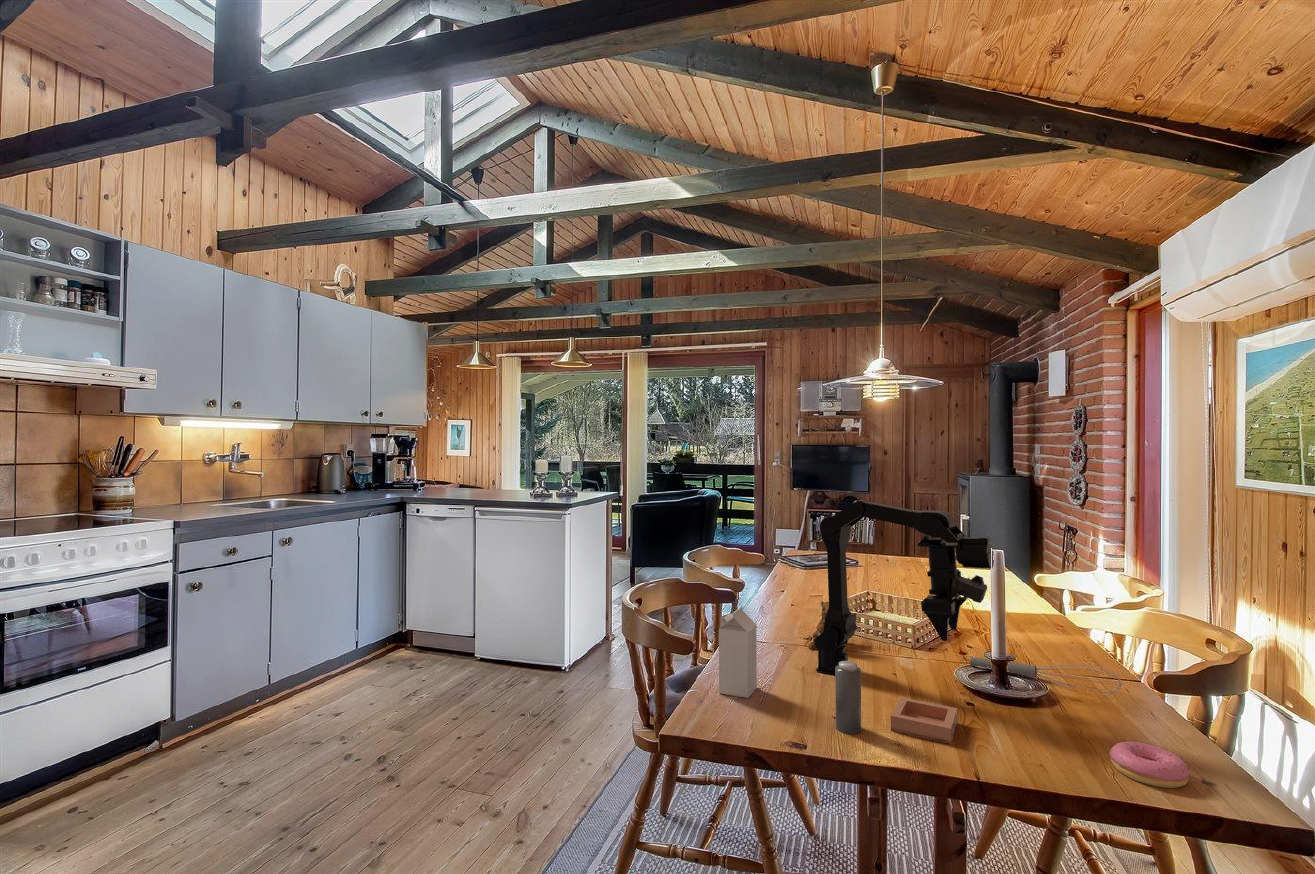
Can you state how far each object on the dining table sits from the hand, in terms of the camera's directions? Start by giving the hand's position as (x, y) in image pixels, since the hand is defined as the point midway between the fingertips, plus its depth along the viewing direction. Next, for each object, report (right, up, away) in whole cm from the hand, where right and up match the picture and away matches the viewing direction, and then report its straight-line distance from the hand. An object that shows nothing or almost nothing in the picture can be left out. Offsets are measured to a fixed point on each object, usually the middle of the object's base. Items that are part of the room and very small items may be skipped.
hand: (949, 634), depth 139 cm
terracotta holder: (-12, -14, -15) cm, 24 cm away
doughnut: (+19, -14, -33) cm, 40 cm away
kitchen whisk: (+27, -15, +11) cm, 33 cm away
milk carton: (-48, -15, +4) cm, 50 cm away
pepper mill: (-28, -14, -15) cm, 35 cm away
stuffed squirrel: (-16, -16, +37) cm, 44 cm away
